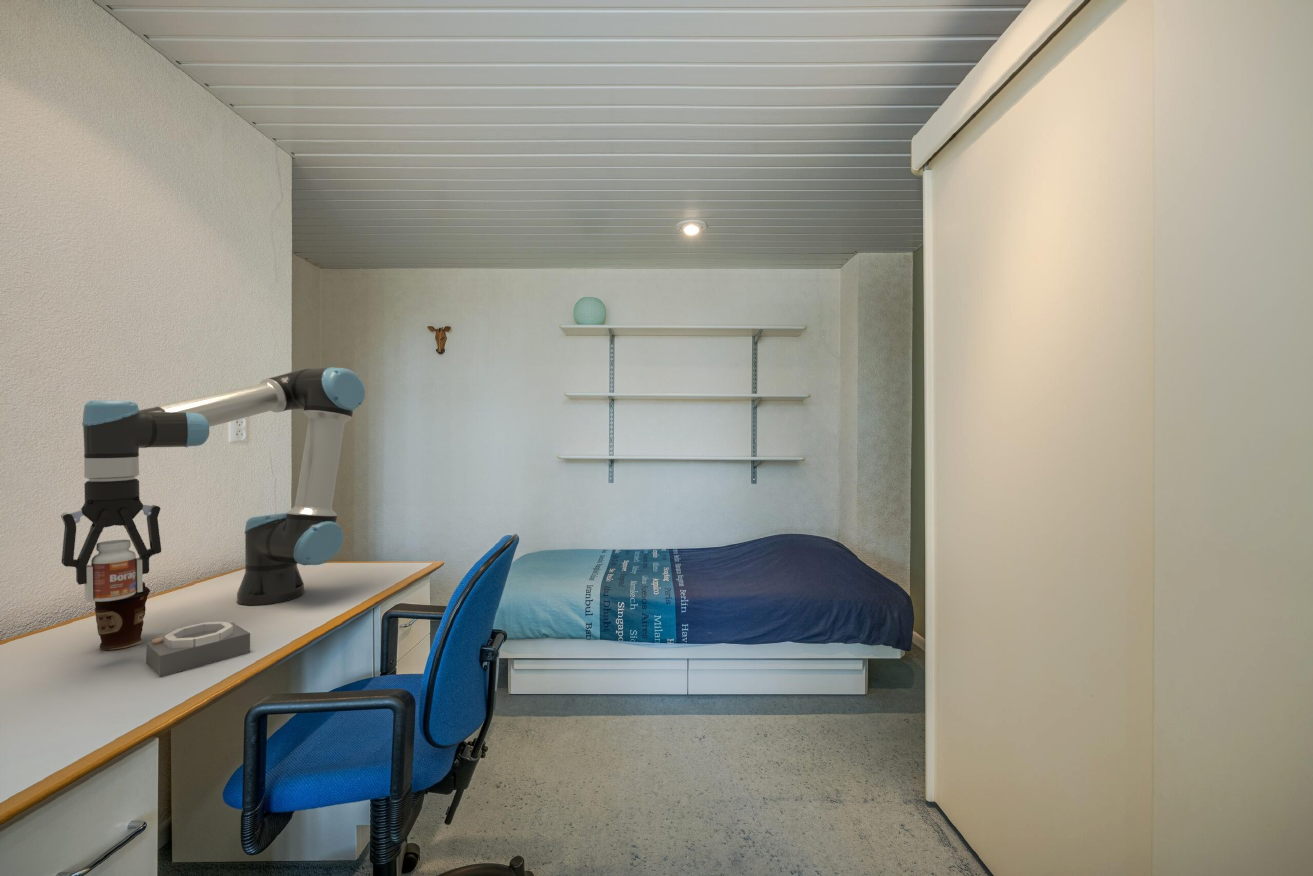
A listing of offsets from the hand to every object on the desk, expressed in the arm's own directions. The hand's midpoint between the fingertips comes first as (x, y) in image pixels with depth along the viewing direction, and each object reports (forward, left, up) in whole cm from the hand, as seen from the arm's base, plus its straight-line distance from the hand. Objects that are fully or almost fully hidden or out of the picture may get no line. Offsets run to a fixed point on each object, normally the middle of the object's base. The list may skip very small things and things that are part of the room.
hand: (114, 594), depth 104 cm
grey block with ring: (-11, +10, -14) cm, 20 cm away
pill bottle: (0, 0, -1) cm, 1 cm away
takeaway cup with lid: (-3, -11, -14) cm, 18 cm away
